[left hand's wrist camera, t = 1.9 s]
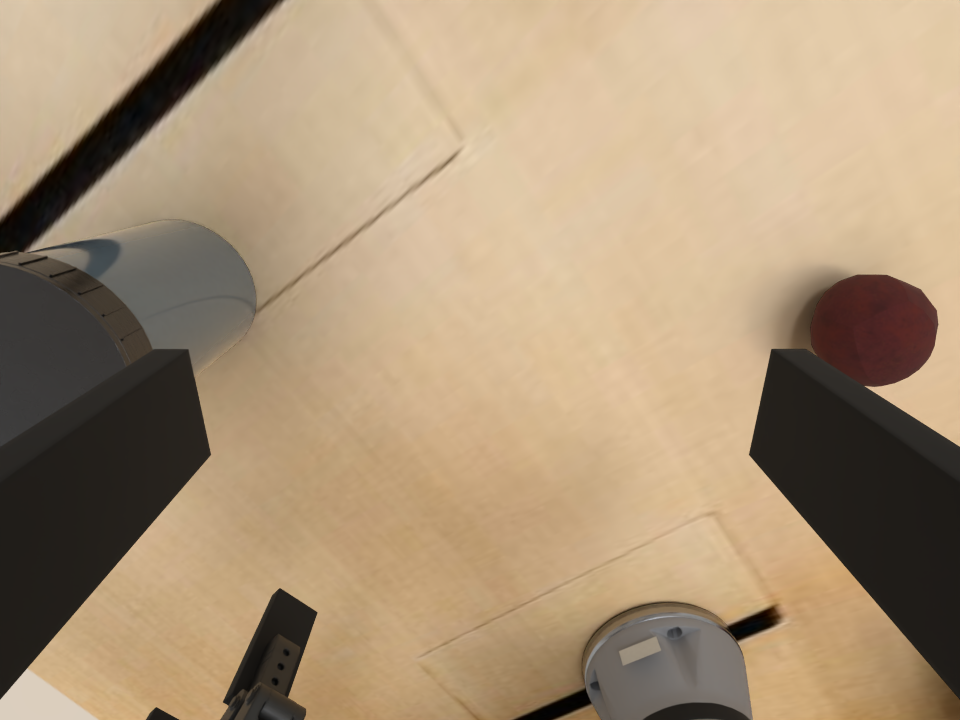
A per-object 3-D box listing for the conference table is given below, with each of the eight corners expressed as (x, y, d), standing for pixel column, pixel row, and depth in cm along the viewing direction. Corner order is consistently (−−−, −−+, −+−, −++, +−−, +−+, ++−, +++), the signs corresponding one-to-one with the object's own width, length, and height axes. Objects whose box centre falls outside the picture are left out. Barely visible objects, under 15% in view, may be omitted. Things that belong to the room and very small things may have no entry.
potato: (812, 378, 43) (871, 421, 36) (773, 298, 40) (830, 328, 34) (905, 328, 41) (985, 364, 35) (870, 242, 39) (950, 263, 32)
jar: (149, 366, 43) (-21, 482, 28) (89, 235, 39) (-144, 290, 24) (275, 342, 42) (167, 448, 27) (226, 205, 38) (70, 245, 24)
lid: (5, 469, 30) (-31, 494, 28) (-114, 275, 26) (-167, 286, 24) (193, 435, 29) (171, 458, 27) (100, 229, 25) (66, 237, 23)
